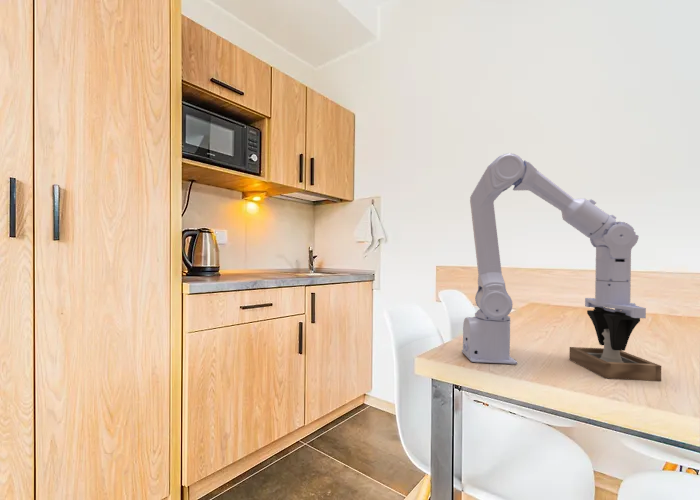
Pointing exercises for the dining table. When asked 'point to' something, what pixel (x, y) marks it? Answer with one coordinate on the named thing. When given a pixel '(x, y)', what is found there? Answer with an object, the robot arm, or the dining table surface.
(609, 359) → the rook chess piece
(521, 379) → the dining table surface
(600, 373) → the box
